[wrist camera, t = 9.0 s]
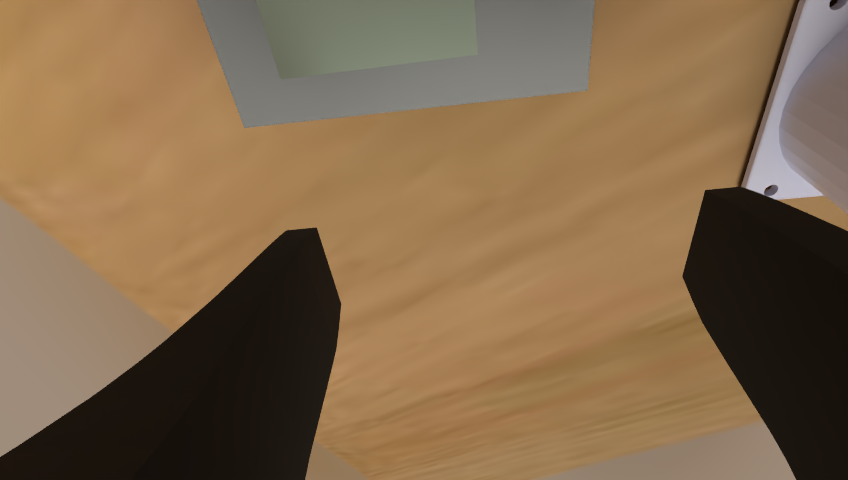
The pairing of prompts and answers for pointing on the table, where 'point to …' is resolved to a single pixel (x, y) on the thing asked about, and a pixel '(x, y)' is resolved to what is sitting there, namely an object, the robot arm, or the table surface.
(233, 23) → the slate plinth
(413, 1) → the sage cube
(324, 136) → the table surface
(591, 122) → the table surface
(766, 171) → the robot arm
